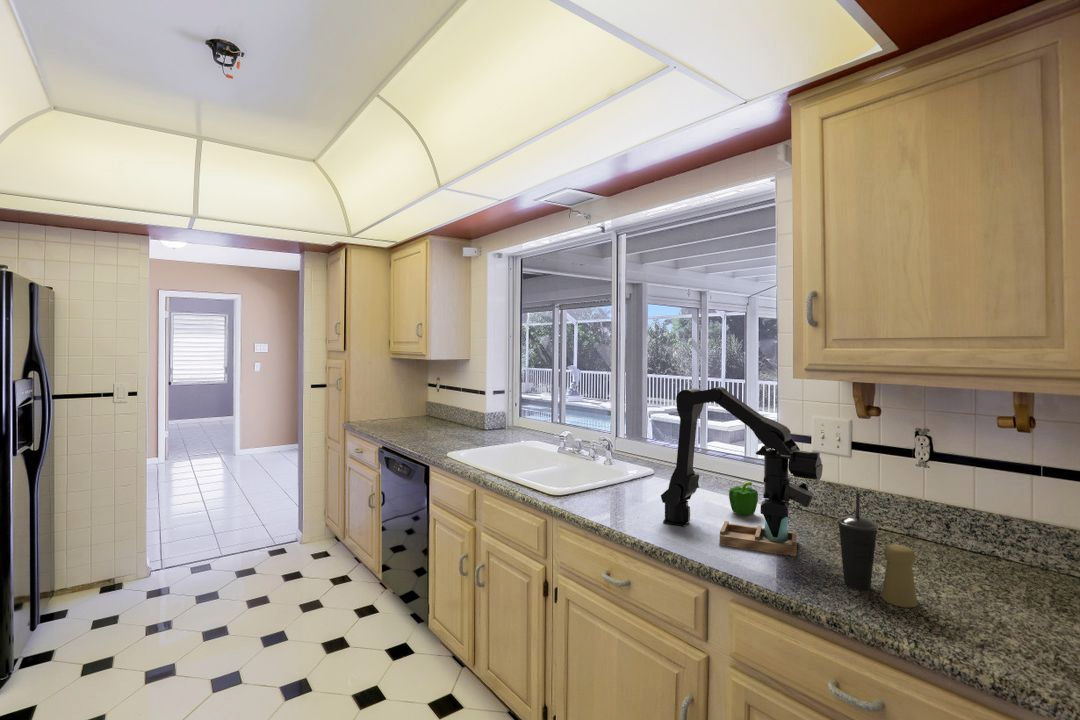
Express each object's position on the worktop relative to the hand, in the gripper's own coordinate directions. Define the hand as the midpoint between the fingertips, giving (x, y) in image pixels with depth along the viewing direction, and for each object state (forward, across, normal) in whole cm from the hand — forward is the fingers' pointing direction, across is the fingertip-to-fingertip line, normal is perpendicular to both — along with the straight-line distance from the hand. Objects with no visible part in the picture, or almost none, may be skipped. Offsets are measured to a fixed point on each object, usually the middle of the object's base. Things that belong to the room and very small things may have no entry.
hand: (775, 533), depth 134 cm
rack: (+3, 0, +4) cm, 5 cm away
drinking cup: (+3, -16, -17) cm, 24 cm away
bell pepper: (+4, +24, +10) cm, 26 cm away
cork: (+3, -20, -24) cm, 32 cm away
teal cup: (+1, 0, 0) cm, 1 cm away
